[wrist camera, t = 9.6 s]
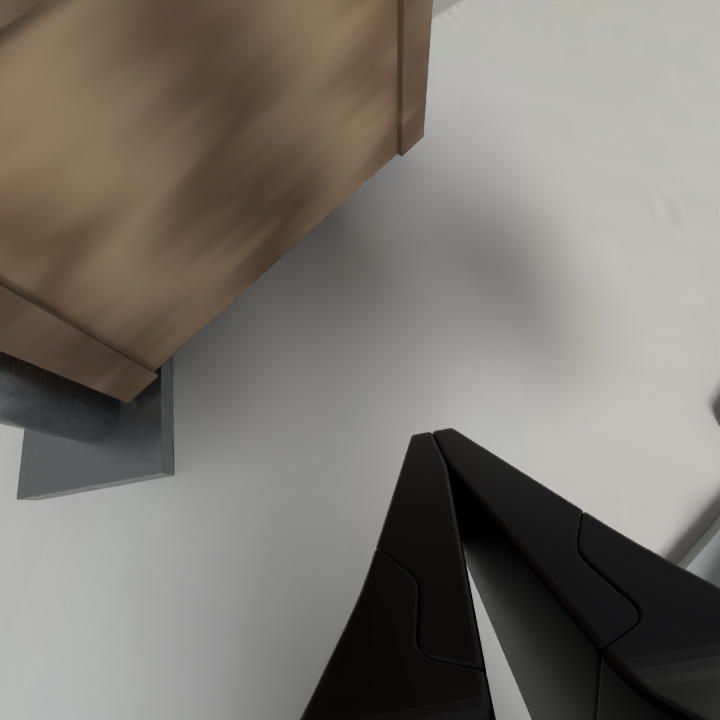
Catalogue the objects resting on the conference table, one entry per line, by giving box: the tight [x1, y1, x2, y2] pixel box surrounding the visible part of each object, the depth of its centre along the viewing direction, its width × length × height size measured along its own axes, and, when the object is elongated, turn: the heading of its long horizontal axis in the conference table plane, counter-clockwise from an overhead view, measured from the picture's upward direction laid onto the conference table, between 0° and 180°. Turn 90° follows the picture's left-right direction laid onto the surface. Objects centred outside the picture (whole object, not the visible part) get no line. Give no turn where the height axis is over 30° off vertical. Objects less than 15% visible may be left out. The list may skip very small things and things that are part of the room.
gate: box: [0, 0, 433, 403], centre depth 14 cm, size 18×2×13 cm, turn 136°
